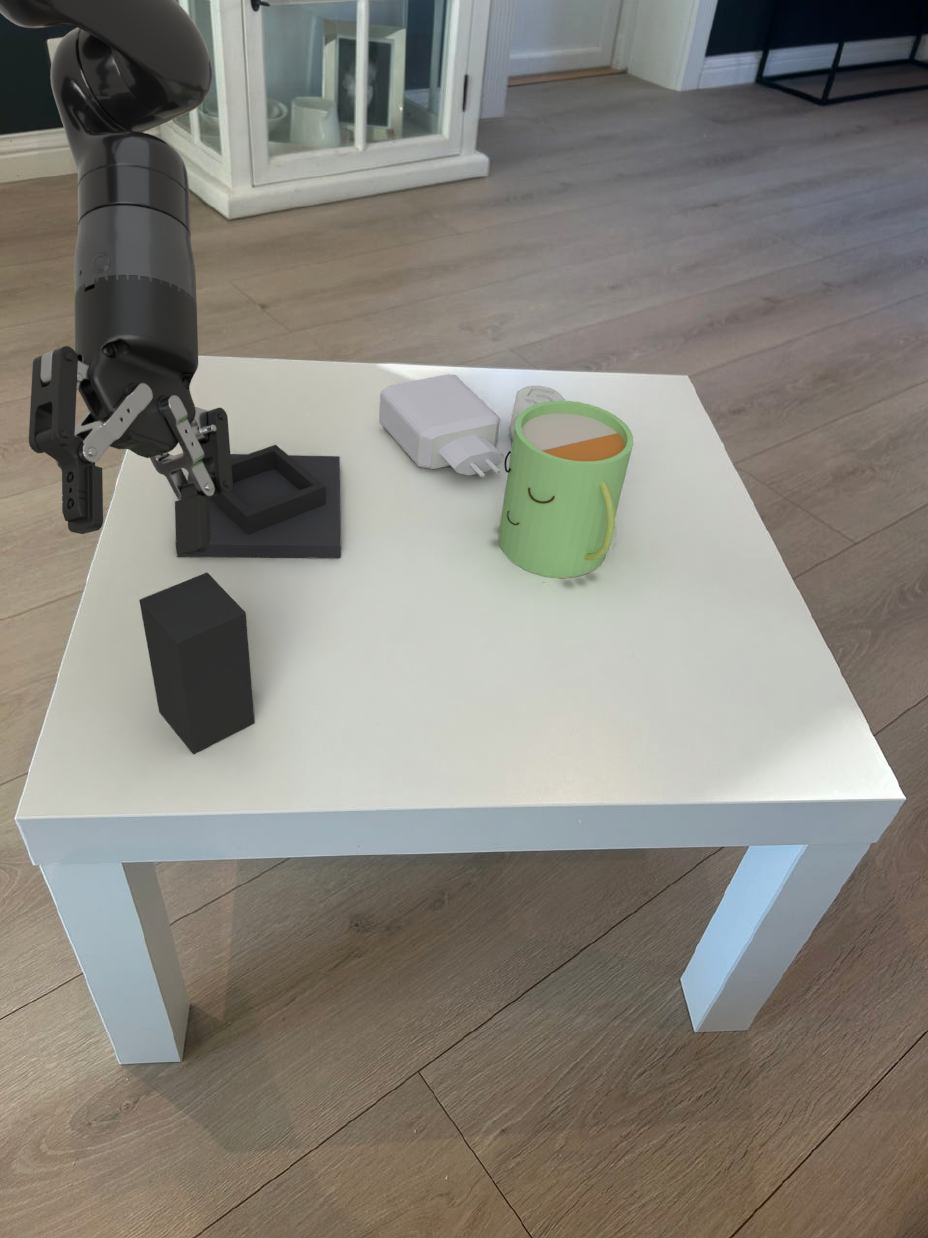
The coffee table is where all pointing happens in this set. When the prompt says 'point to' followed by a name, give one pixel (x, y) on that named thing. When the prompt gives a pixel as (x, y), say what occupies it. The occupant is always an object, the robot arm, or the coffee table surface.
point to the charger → (442, 424)
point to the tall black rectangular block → (199, 660)
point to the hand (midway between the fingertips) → (141, 542)
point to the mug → (563, 487)
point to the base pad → (277, 507)
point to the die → (531, 401)
